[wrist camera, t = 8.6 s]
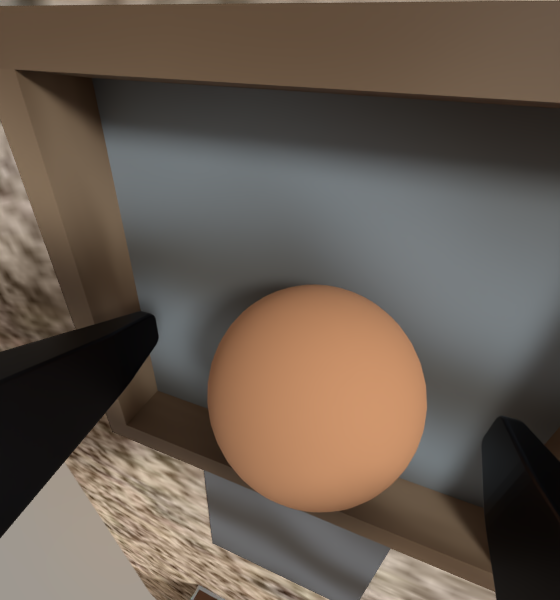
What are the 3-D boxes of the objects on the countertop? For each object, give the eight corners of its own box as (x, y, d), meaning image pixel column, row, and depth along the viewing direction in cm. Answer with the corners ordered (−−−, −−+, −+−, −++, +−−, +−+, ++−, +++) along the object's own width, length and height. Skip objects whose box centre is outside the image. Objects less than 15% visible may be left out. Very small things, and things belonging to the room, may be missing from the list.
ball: (380, 394, 11) (410, 579, 7) (239, 372, 11) (181, 531, 7) (426, 263, 8) (525, 431, 4) (238, 240, 9) (145, 369, 4)
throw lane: (402, 627, 19) (401, 685, 17) (178, 521, 23) (158, 558, 21) (961, 46, 4) (1424, -8, 2) (64, 31, 8) (-41, 6, 6)
